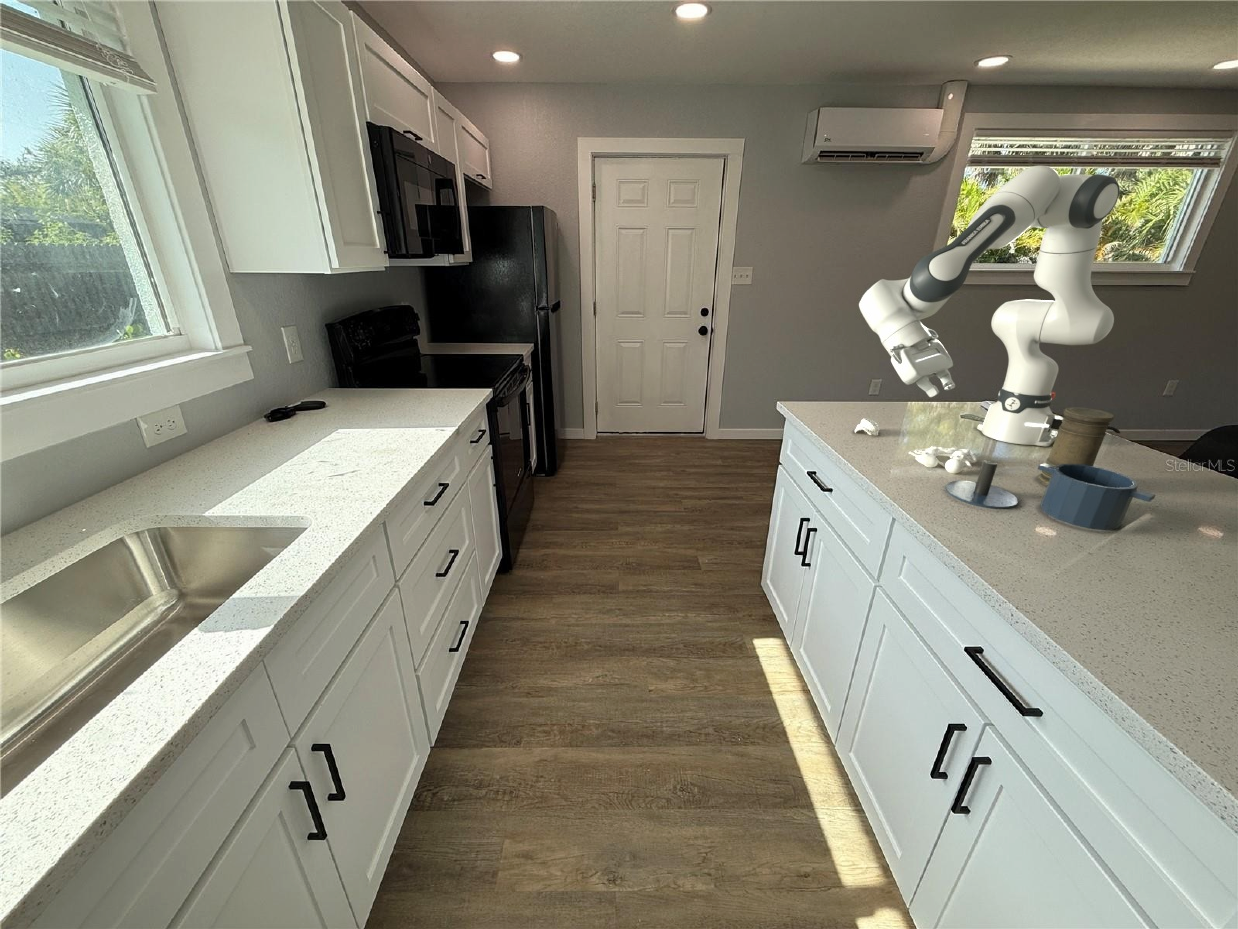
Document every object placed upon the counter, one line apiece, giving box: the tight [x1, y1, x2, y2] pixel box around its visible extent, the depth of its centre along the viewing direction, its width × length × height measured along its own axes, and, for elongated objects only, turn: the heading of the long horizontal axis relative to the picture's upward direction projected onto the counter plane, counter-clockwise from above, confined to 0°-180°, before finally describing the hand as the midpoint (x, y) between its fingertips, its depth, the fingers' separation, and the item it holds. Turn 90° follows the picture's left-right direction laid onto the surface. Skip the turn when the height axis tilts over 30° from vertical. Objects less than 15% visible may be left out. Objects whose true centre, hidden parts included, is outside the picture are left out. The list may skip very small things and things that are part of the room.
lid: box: [945, 459, 1019, 510], centre depth 109 cm, size 13×13×9 cm
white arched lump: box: [854, 417, 880, 436], centre depth 151 cm, size 8×7×5 cm
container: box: [1037, 407, 1115, 485], centre depth 113 cm, size 9×9×18 cm
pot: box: [1037, 462, 1156, 531], centre depth 100 cm, size 12×18×10 cm
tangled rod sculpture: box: [908, 445, 977, 475], centre depth 129 cm, size 19×14×4 cm
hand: (943, 391), depth 111 cm, fingers open, 8 cm apart
